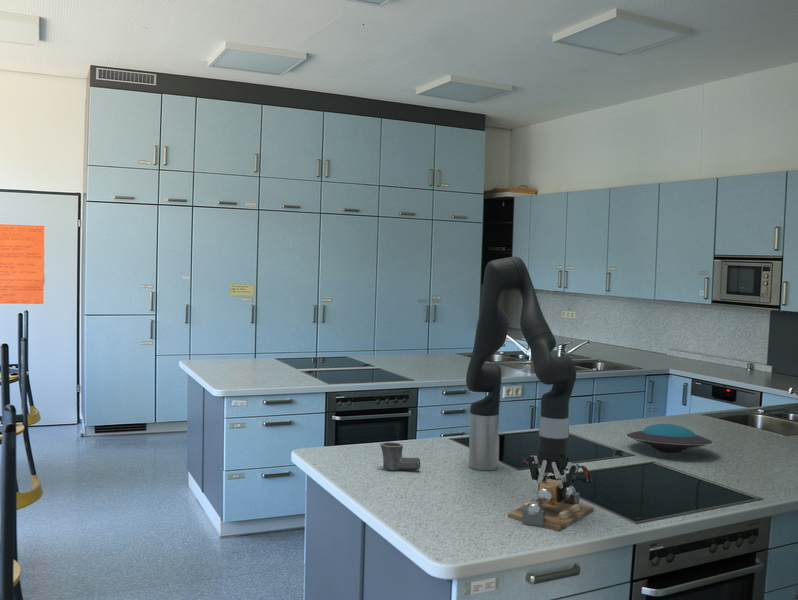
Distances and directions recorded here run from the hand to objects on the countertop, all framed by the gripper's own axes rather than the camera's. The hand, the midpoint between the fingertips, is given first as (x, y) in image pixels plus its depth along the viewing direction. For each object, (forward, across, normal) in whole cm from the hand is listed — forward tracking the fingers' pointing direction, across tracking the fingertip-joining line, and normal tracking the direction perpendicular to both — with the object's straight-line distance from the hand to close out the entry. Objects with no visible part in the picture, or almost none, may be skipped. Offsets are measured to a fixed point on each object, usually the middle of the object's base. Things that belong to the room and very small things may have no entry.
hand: (551, 499), depth 177 cm
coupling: (+1, 0, 0) cm, 1 cm away
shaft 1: (+4, 0, +9) cm, 10 cm away
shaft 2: (+4, 0, -10) cm, 10 cm away
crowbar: (+4, +17, -36) cm, 40 cm away
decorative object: (+4, 0, -89) cm, 89 cm away
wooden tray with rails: (+4, 0, 0) cm, 4 cm away
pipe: (+4, +54, -3) cm, 54 cm away
